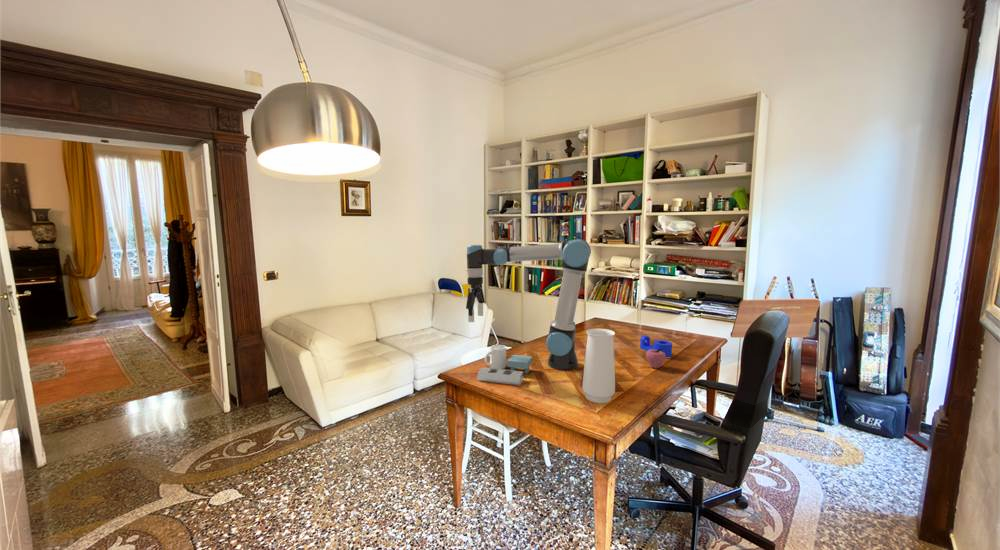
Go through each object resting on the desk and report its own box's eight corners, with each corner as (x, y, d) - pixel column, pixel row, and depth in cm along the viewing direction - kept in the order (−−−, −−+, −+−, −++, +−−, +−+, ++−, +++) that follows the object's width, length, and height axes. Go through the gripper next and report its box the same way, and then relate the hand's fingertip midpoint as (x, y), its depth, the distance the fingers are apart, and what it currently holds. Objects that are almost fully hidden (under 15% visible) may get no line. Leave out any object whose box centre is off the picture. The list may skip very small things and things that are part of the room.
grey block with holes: (523, 379, 184) (523, 371, 183) (520, 385, 178) (520, 376, 177) (482, 375, 189) (482, 367, 189) (477, 380, 183) (477, 372, 183)
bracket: (675, 357, 214) (676, 344, 213) (661, 359, 211) (662, 345, 210) (649, 347, 232) (650, 334, 231) (636, 349, 229) (637, 336, 228)
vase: (619, 404, 159) (622, 336, 155) (587, 405, 158) (589, 337, 154) (608, 390, 172) (610, 327, 168) (578, 391, 171) (580, 328, 167)
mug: (488, 372, 193) (488, 352, 191) (480, 367, 200) (480, 347, 198) (509, 367, 199) (509, 347, 198) (500, 362, 206) (500, 343, 205)
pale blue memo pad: (531, 369, 197) (531, 356, 196) (527, 375, 188) (527, 362, 188) (512, 367, 200) (512, 354, 199) (507, 373, 191) (507, 360, 190)
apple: (658, 363, 205) (659, 344, 203) (669, 369, 196) (670, 350, 195) (641, 365, 203) (642, 346, 201) (652, 371, 194) (653, 351, 193)
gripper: (476, 273, 209) (477, 312, 211) (458, 279, 185) (459, 324, 188) (490, 273, 207) (490, 313, 209) (473, 280, 183) (474, 325, 185)
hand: (476, 318), depth 198 cm, fingers open, 13 cm apart
